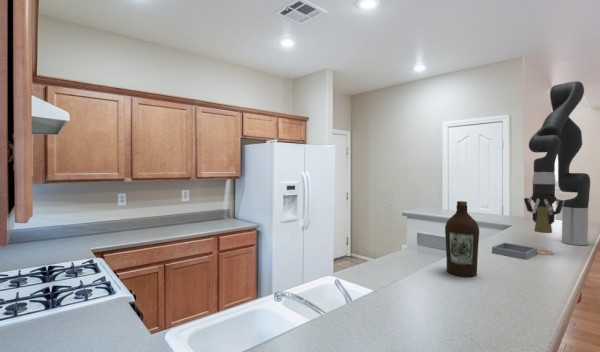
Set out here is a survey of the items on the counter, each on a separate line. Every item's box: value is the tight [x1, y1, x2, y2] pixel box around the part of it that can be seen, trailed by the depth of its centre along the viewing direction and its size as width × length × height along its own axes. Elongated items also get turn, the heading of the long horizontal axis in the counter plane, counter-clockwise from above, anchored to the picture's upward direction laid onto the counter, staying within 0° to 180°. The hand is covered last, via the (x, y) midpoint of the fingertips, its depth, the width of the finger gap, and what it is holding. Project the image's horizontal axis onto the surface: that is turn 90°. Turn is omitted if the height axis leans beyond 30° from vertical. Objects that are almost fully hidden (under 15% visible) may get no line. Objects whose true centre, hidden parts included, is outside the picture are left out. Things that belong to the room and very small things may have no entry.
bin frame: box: [491, 242, 538, 260], centre depth 132 cm, size 12×12×2 cm
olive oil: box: [444, 200, 480, 278], centre depth 109 cm, size 11×11×25 cm
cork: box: [533, 206, 553, 234], centre depth 133 cm, size 6×6×11 cm
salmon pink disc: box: [537, 248, 554, 256], centre depth 133 cm, size 7×7×1 cm
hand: (543, 222), depth 133 cm, fingers closed on cork, 4 cm apart
